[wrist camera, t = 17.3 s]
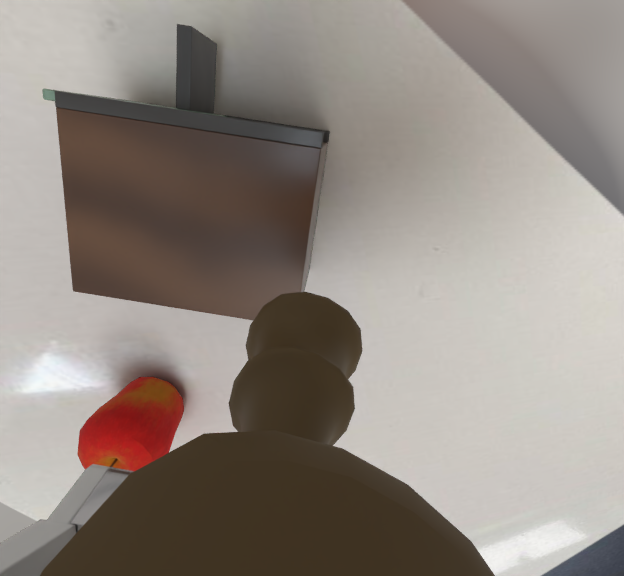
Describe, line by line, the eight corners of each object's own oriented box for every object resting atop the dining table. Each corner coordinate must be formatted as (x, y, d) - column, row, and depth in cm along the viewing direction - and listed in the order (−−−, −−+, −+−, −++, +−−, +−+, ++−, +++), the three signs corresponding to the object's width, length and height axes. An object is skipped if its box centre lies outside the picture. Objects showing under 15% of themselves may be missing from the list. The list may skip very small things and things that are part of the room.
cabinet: (147, 103, 34) (53, 90, 23) (329, 131, 34) (323, 132, 23) (149, 245, 39) (72, 291, 28) (308, 271, 39) (295, 327, 28)
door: (127, 32, 32) (31, -12, 22) (230, 48, 32) (180, 11, 22) (129, 108, 34) (42, 99, 24) (226, 123, 34) (178, 120, 24)
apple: (116, 364, 45) (42, 439, 34) (188, 363, 44) (137, 440, 33) (132, 425, 48) (70, 512, 37) (200, 425, 47) (157, 515, 36)
